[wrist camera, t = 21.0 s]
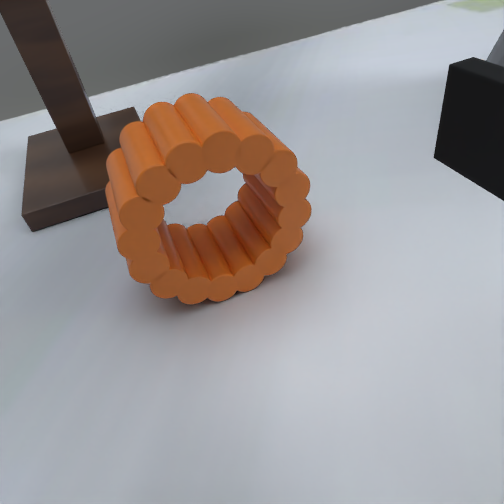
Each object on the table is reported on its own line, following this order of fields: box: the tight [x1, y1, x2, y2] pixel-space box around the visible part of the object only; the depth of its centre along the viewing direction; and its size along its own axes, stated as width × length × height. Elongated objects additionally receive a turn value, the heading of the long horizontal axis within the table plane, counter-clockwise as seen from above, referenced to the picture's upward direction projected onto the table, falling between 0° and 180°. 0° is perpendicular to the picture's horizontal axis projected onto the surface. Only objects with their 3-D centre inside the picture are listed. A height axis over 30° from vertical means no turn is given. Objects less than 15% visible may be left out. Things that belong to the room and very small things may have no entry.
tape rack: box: [0, 0, 140, 231], centre depth 28 cm, size 16×10×18 cm, turn 21°
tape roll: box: [105, 93, 311, 304], centre depth 20 cm, size 9×5×9 cm, turn 112°
